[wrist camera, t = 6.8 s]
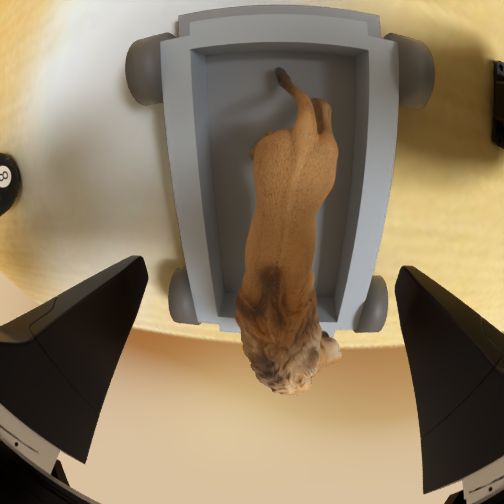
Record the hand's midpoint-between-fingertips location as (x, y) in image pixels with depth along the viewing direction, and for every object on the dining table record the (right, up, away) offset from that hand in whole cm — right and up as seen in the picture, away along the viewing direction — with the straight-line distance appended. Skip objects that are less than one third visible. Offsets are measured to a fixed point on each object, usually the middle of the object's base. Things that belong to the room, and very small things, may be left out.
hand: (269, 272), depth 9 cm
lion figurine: (+2, +4, +7) cm, 8 cm away
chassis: (+1, +5, +7) cm, 9 cm away
